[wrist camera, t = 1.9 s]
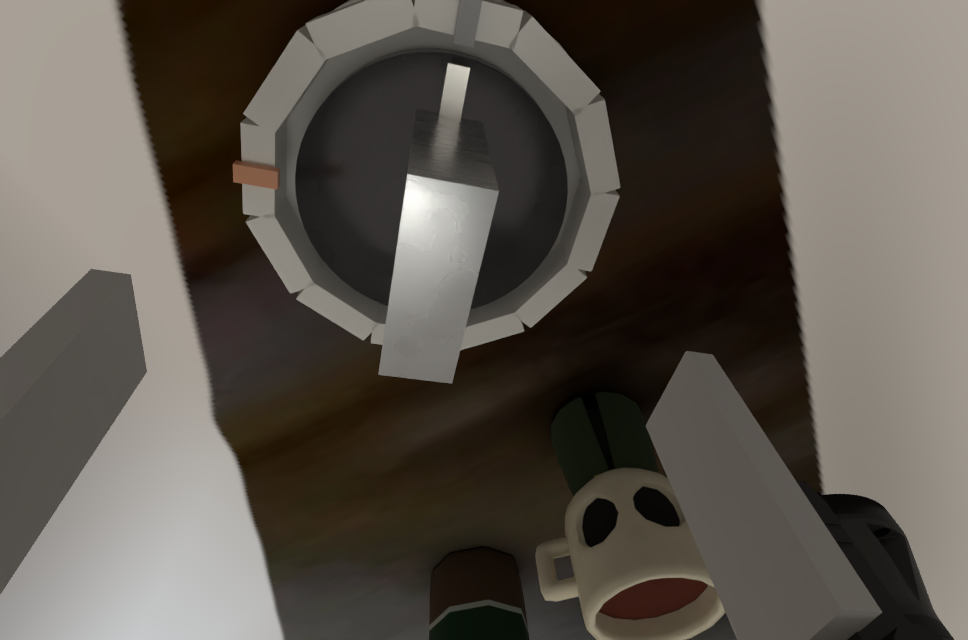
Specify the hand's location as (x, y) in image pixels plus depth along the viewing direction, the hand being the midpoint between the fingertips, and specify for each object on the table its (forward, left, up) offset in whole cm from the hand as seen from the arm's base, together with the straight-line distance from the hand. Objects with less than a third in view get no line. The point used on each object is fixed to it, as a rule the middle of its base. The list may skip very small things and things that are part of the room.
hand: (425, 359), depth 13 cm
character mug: (-20, -4, -16) cm, 26 cm away
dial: (0, 0, -12) cm, 12 cm away
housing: (0, 0, -15) cm, 15 cm away
